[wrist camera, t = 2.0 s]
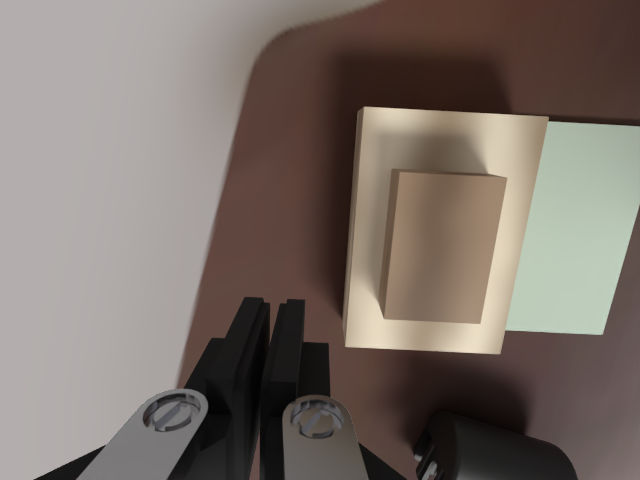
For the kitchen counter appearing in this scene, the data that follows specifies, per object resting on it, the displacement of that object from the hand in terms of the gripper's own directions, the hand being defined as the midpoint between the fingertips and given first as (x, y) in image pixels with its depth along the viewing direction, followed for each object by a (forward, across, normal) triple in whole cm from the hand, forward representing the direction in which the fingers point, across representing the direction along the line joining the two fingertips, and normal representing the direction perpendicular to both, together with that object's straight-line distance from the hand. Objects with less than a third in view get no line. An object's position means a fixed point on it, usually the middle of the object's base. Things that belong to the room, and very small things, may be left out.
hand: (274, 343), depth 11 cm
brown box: (+13, -8, 0) cm, 16 cm away
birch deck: (+17, -9, 0) cm, 19 cm away
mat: (+17, -19, 0) cm, 26 cm away
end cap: (+17, -16, +19) cm, 30 cm away
